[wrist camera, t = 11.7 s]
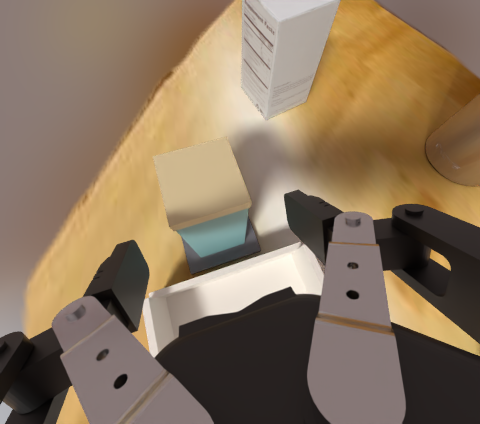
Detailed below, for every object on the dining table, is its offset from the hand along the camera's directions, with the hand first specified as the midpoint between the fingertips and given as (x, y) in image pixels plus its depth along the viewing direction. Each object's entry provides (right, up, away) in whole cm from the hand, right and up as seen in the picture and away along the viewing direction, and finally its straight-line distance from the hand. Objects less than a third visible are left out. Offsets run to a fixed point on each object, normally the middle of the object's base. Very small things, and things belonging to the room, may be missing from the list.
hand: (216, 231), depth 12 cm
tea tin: (-1, -1, +14) cm, 14 cm away
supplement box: (+6, +18, +22) cm, 30 cm away
